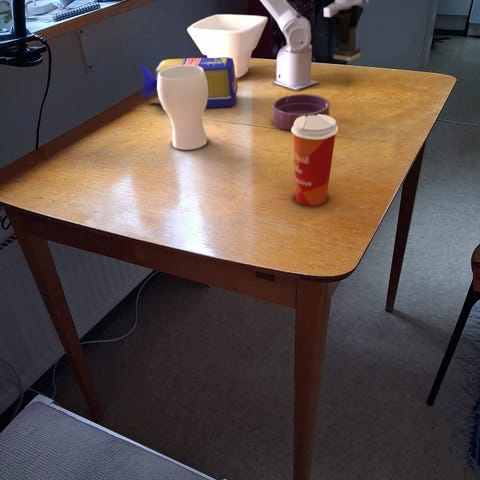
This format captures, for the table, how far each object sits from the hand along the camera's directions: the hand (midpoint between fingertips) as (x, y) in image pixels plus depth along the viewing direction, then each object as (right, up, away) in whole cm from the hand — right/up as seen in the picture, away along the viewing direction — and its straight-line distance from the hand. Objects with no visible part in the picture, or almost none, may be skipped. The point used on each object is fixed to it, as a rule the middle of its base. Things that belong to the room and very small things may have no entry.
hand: (346, 41), depth 126 cm
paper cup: (-15, -51, -38) cm, 65 cm away
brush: (+1, -3, +3) cm, 4 cm away
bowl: (-31, -1, +17) cm, 35 cm away
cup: (-40, -33, -17) cm, 54 cm away
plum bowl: (-14, -26, -11) cm, 31 cm away
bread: (-41, -15, +2) cm, 44 cm away
